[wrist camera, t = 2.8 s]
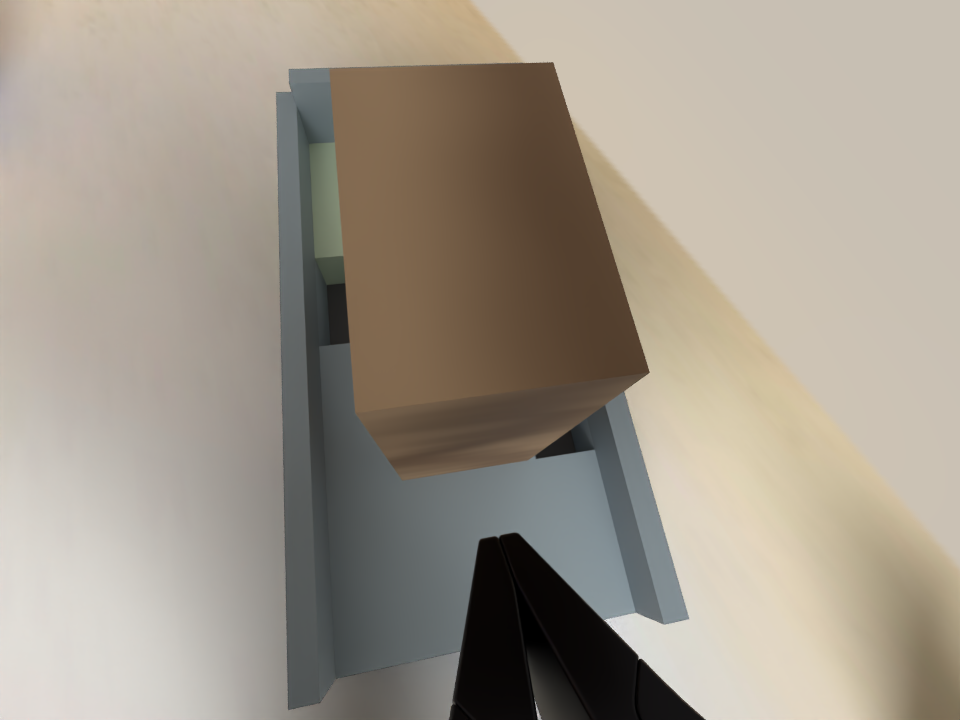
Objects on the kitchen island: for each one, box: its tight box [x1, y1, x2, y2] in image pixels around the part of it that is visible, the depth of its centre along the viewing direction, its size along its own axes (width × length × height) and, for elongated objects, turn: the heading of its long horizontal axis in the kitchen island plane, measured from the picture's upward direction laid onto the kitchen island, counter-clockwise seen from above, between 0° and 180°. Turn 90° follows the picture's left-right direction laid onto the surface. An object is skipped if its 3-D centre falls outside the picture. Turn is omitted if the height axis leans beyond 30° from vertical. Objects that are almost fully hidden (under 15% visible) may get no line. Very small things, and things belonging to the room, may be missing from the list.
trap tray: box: [276, 63, 689, 710], centre depth 18 cm, size 11×22×6 cm, turn 9°
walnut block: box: [329, 62, 650, 481], centre depth 13 cm, size 5×7×10 cm, turn 9°
